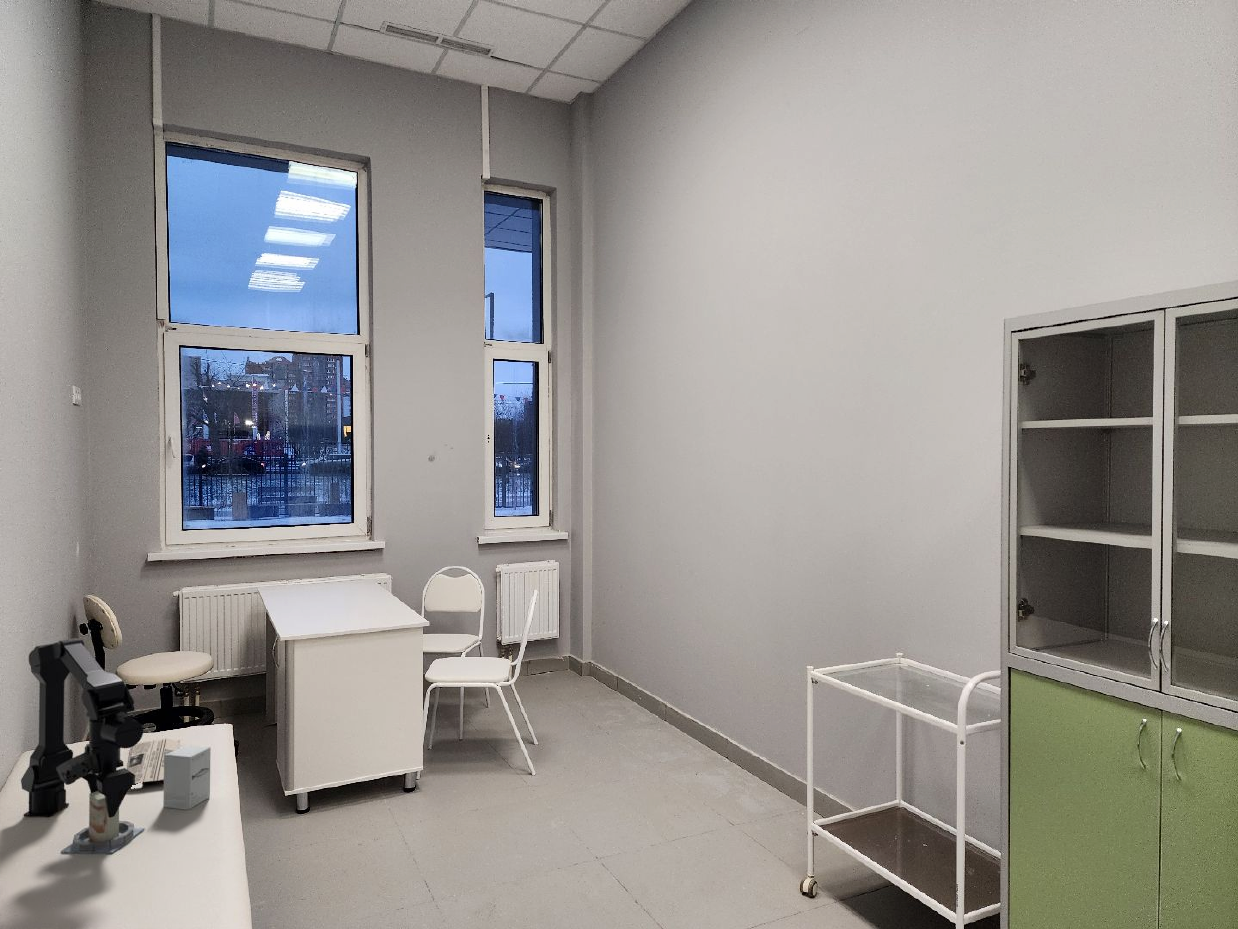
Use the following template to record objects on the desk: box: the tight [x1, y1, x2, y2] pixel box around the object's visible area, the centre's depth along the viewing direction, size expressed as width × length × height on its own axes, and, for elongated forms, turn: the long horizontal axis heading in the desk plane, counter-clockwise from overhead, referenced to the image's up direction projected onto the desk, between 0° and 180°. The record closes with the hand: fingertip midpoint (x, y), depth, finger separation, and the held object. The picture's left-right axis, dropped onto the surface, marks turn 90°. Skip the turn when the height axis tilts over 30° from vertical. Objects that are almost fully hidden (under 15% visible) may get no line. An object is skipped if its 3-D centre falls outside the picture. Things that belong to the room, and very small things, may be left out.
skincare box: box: [88, 791, 120, 842], centre depth 172 cm, size 5×4×10 cm
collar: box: [60, 820, 146, 855], centre depth 172 cm, size 11×11×2 cm
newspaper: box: [126, 738, 181, 792], centre depth 215 cm, size 35×12×4 cm, turn 29°
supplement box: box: [162, 744, 212, 810], centre depth 192 cm, size 7×7×13 cm
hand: (104, 810), depth 172 cm, fingers open, 9 cm apart
